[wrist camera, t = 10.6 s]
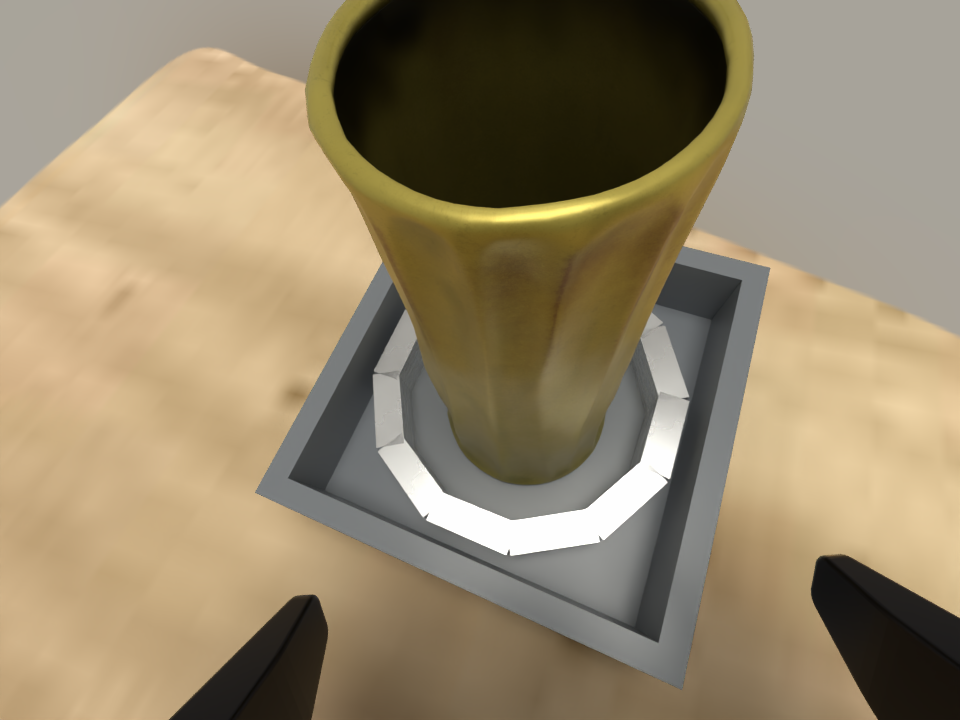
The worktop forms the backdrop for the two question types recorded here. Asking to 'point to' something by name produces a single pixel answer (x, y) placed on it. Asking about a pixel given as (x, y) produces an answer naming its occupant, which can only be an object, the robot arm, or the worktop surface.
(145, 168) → the worktop surface
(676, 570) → the tray
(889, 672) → the robot arm
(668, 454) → the collar
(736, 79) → the vase
